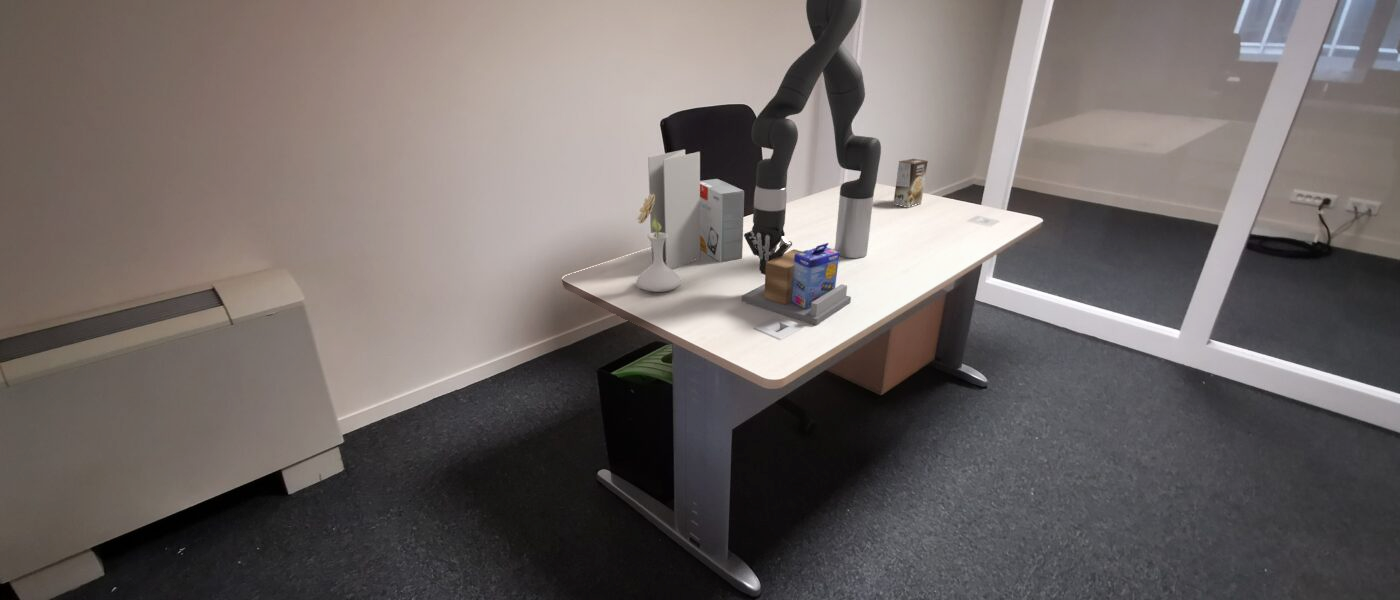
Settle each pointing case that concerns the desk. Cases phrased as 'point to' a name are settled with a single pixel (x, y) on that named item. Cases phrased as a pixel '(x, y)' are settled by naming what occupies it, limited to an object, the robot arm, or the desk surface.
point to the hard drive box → (721, 220)
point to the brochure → (676, 204)
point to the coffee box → (910, 182)
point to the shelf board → (812, 315)
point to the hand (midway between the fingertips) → (765, 273)
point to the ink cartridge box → (813, 274)
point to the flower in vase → (656, 257)
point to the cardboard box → (780, 277)
